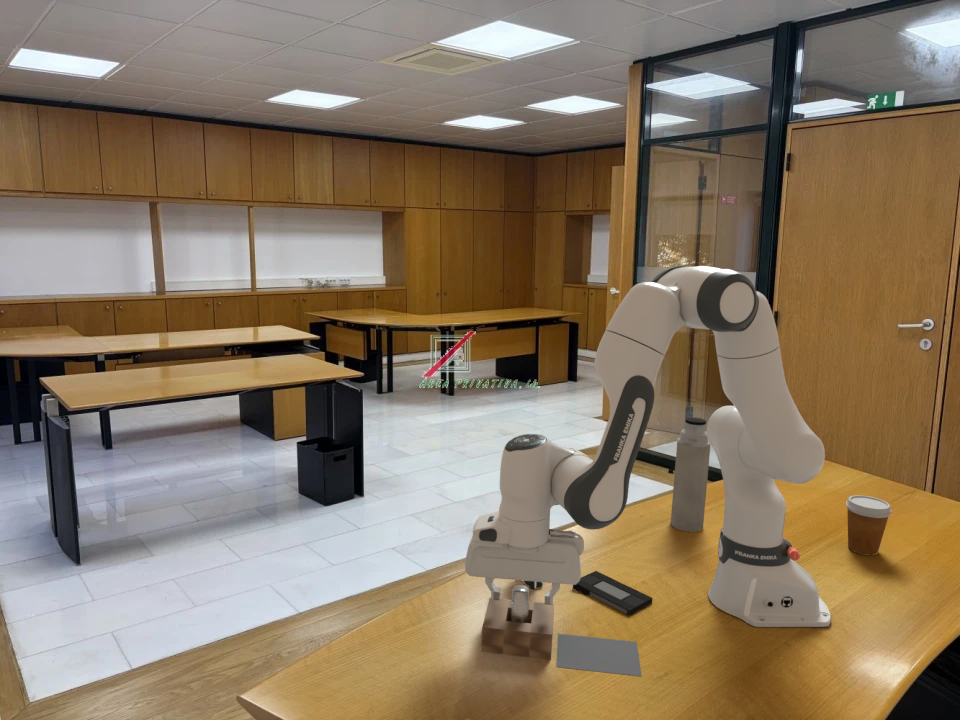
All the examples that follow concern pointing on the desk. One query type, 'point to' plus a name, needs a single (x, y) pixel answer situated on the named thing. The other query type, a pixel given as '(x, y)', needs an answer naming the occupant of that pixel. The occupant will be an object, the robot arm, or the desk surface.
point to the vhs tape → (612, 592)
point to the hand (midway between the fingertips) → (522, 600)
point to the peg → (520, 604)
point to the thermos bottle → (690, 476)
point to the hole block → (518, 630)
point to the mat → (598, 655)
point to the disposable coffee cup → (866, 523)
